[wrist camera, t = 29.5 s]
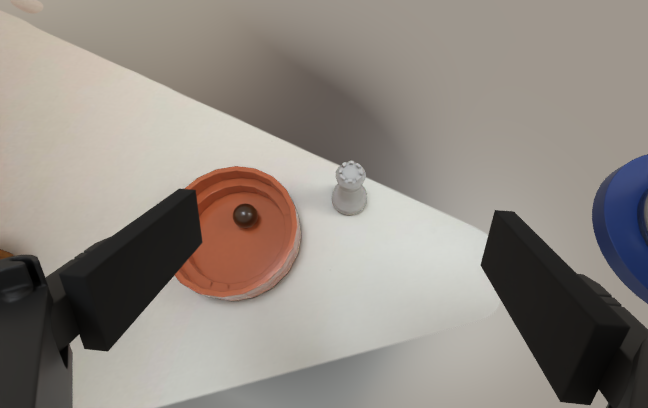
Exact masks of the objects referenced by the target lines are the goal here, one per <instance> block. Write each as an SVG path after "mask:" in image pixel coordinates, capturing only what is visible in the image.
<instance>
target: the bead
mask: <svg viewBox="0 0 648 408" xmlns="http://www.w3.org/2000/svg"><path fill="white" fill-rule="evenodd" d="M257 219H258V213H257V210H256V209H255V207H254V206H252V205H250V204H246V203H245V204H240V205H238V206H237V207H236V208H235V209H234V211H233V221H234V223H235V224H236V225H237V226H239V227H241V228H249V227H251V226H253V225H254V224H255V223H256V221H257Z"/></svg>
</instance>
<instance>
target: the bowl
mask: <svg viewBox="0 0 648 408" xmlns="http://www.w3.org/2000/svg"><path fill="white" fill-rule="evenodd" d="M185 189H191V190H196V196H197V204H198V211H199V219H200V227H201V234H202V242H203V243H202V244H201V245H200V246H199V247H198V248H197V250H196V251H195V252H194V253H193V254H192V255H191V257H190V258H189V259H188V260H187V261H186V262H185V263H184V265H183V266H182V267H181V268H180V269H179V270H178V271H177V273H176V274H175V276H176V278H177V279H178V280H179V281H180V283H182V284H183V285H185V286H187V287H188V288H190V289H192V290H194V291H195V292H197V293H199V294H202V295H205V296H209V297H212V298H217V299H223V300H229V301H236V300H242V299H248V298H253V297H256V296H258V295H260V294H261V293H263V292H265V291H267V290H269V289H271V288H272V287H274V286H275V285H276V284H277V283H278V282H279V281H280V280H281V279H282V278H283V277H284V276H285V275H286V274H287V273H288V271H289V270H290V268H291V266H292V264H293V262H294V260H295V259H296V257H297V255H298V250H299V245H300V240H301V230H300V222H299V217H298V214H297V211H296V208H295V205H294V204H293V202H292V200H291V198H290V196H289V194H288V192H287V190H286V189H285V188H284V187H283V186H282V185H281V184H280V183H279V182H278V181H277V180H276V179H275V178H274V177H272V176H270V175H268V174H266V173H264V172H262V171H259V170H257V169H254V168H246V167H238V166H235V167H229V168H222V169H217V170H214V171H212V172H210V173H208V174H205V175H203V176H201V177H199V178H197V179H196V180H195V181H193V182H192V183H191V184H190V185H189V186H187V187H186V188H185ZM245 203H246V204H250V205H252V206H254V207H255V209H256V210H257V213H258V219H257V221H256V223H255V224H254V225H253V226H251V227H249V228H241V227H239V226H237V225H236V224H235V223H234V221H233V211H234V209H235V208H236V207H237V206H238V205H240V204H245Z"/></svg>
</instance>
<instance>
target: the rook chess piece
mask: <svg viewBox="0 0 648 408" xmlns="http://www.w3.org/2000/svg"><path fill="white" fill-rule="evenodd" d="M365 177H366V174H365V171H364V169H363V167H361V165H359V163H358V164H357V163H355V162H354V161H349V162H347V163H343V164H342V165H341V166H340V167H339V168H338V169H337V171H336V179H337V182H338V184H337V185H336V187H335V188H334V190H333V194H332V202H333V205H334V207H335V208H336V209H337V210H338V211H339V212H341V213H343V214H346V215H353V214H356V213H359V212H360V211H361V210H362V209H364V207H365V205H366V202H367V193H366V191H365V188H364V187H363V186H362V184H363V182H364V181H365Z"/></svg>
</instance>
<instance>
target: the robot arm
mask: <svg viewBox="0 0 648 408" xmlns="http://www.w3.org/2000/svg"><path fill="white" fill-rule="evenodd" d="M637 219H638V225H639V229H640V232H641V235H642V237H643V239H644V241H645V243H646V245H647V246H648V188H647V189H646V191H645V192H644V193H643V195H642V196H641V198H640V201H639V204H638V209H637ZM202 243H203V242H202V234H201V227H200V219H199V211H198V204H197V196H196V190H191V189H178V190H177V191H176V192H174V193H173V194H171V195H170V196H168V197H167V198H166V199H164V200H163V201H161V202H160V203H159V204H157V205H156V206H154V207H153V208H151V209H150V210H149V211H147V212H146V213H144V214H143V215H142V216H140V217H139V218H137V219H136V220H134V221H133V222H132V223H130V224H129V225H127V226H126V227H125V228H123V229H122V230H120V231H119V232H117V233H116V234H115V235H113V236H112V237H109V238H107V239H104V240H102V241H100V242H97V243H95V244H94V245H92V246H91V247H89V248H88V249H86V250H85V251H84V253H81V254H79V255H78V256H76V257H75V259H72V260H70V261H69V262H68V263H66V264H65V265H63V266H62V267H60V268H59V269H57V270H56V271H54V272H53V273H52V274H50V275H49V276H47V277H46V278H45V276H44V273H43V270H42V268H41V265H40V262H39V260H38V257H36V256H33V255H18V256H11V257H7V258H4V259H0V408H72V350H71V347H70V344H69V343H71V342H72V341H73V340H74V339H75V338H76V337H77V336H78V335H79V334H80V337H81V340H82V343H83V346H84V349H90V350H99V351H109V350H110V349H111V347H112V346H113V345H114V344H115V343H116V342H117V340H118V339H119V338H120V337H121V336H122V335H123V334H124V332H125V331H126V330H127V329H128V328H129V327H130V326H131V324H132V323H133V322H134V321H135V320H136V319H137V317H138V316H139V315H140V314H141V313H142V312H143V311H144V309H145V308H146V307H147V306H148V305H149V304H150V303H151V301H152V300H153V299H154V298H155V297H156V296H157V294H158V293H159V292H160V291H161V290H162V289H163V288H164V286H165V285H166V284H167V283H168V282H169V281H170V280H171V278H172V277H173V276H174V275H175V274H176V273H177V271H178V270H179V269H180V268H181V267H182V266H183V265H184V263H185V262H186V261H187V260H188V259H189V258H190V257H191V255H192V254H193V253H194V252H195V251H196V250H197V248H198V247H199V246H200V245H201V244H202ZM481 267H482V269H483V270H484V272H485V274H486V275H487V277H488V279H489V280H490V282H491V284H492V286H493V287H494V289H495V291H496V292H497V294H498V296H499V298H500V299H501V301H502V302H503V304H504V306H505V308H506V309H507V311H508V313H509V315H510V316H511V318H512V320H513V321H514V323H515V325H516V327H517V328H518V330H519V332H520V333H521V335H522V337H523V339H524V340H525V342H526V344H527V345H528V347H529V349H530V351H531V352H532V354H533V356H534V357H535V359H536V361H537V362H538V364H539V366H540V368H541V369H542V371H543V373H544V375H545V376H546V378H547V380H548V381H549V383H550V385H551V386H552V388H553V390H554V391H555V393H556V395H557V397H558V398H559V400H560V402H566V403H576V404H584V405H591V403H592V401H593V399H594V397H595V395H596V393H597V391H598V389H599V390H600V391H601V393H602V394H603V396H604V397H605V398H606V400H607V401H608V405H607V407H606V408H648V329H647V328H645V326H644V325H643V324H641V323H640V322H639V321H638V320H637V319H636V318H635V317H634V316H633V315H632V314H631V313H630V312H629V311H628V310H626V309H625V308H624V307H621V304H620V303H619V302H618V301H617V300H616V299H615V298H612V297H611V295H610V294H609V293H608V292H607V291H606V290H605V289H604V288H603V287H602V286H601V285H600V284H598V283H596V282H595V281H593V280H591V279H590V278H588V277H587V276H585V275H582V274H577V273H575V272H574V271H573V270H572V269H571V268H570V267H569V266H568V265H567V264H566V263H565V262H564V261H563V260H562V259H561V258H560V257H559V256H558V255H557V254H556V253H555V252H554V251H553V250H552V249H551V248H550V247H549V246H548V245H547V244H546V243H545V242H544V241H543V240H542V239H541V238H540V237H539V236H538V235H537V234H536V233H535V232H534V231H533V230H532V229H531V228H530V227H529V226H528V225H527V224H526V223H525V222H524V221H523V220H522V219H521V218H520V217H519V216H518V215H517V214H516V213H515V212H512V211H498V210H495V212H494V216H493V220H492V224H491V227H490V231H489V235H488V239H487V243H486V247H485V250H484V254H483V258H482V262H481Z"/></svg>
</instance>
